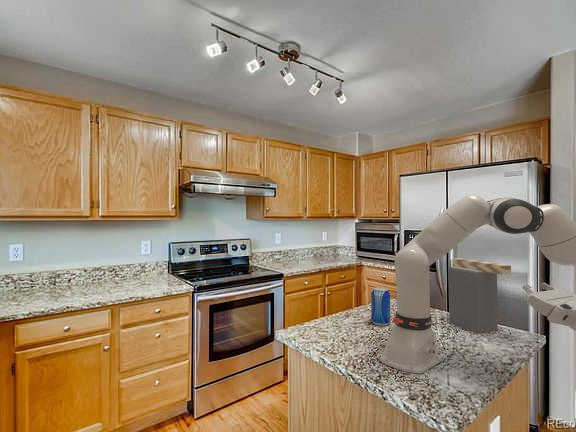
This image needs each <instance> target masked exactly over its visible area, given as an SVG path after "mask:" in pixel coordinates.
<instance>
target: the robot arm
mask: <svg viewBox="0 0 576 432" xmlns="http://www.w3.org/2000/svg"><path fill="white" fill-rule="evenodd" d="M486 225H489V226H490V227H493V228H494V229H496V230H497V231H500V232H503V233H505V234H506V233H507V234H511V235H519V234H520V235H521V234H525V233H529V235H530V236H531V237H532V238H533V240H534V241H535V243H536V245H537V247H538V249H539V250H540V251H541V253H542V254H543V256H544V257H545V258H546V259H547V260H548V261H550V262H552V263H555V264H557V265H560V266H568V267H569V266H573V267H574V266H576V222H575V221H574V220H573V219H572V217H571V216H570V215H569V214H568V213H567V212H566V211H565V210H564V209H563V208H562V207H561V206H559V205H557V204H553V203H546V204H541V205H538V206H536V205H533V204H532V203H530V202H529V201H526V200H523V199H520V198H515V197H500V198H495V199H491V200H485V198H483V197H481V196H479V195H476V194H468V195H465V196H464V197H462V198H460V199H459V200H458V201H456V202H454V203H453V204H452V205H450V206H448V207H447V208H446V209H445V210H444V211H443V212H442V213H441V214H440V215H438V216H437V217H436V218H435V219H434V220H432V221H431V222H430V223H429V224H427V226H426V227H425V228H424V229H423V230H421V231H420V232H419V233H418V234H417V235H416V236H414V237H413V238H412V239H411V240H410V241H409V242H407V243H406V245H404V246H403V247H402V248H401V249H399V250H398V251H397V253H396V254H395V257H394V273H395V274H394V275H395V285H396V312H395V314H394V317H393V318H392V323H393V327H392V330H391V332H390V335H389V337H388V340H387V344H386V346H385V348H384V350H383V352H382V353H381V355H380V357H379V361H380V362H381V363H382V364H384V365H386V366H388V367H391V368H394V369H396V370H399V371H403V372H406V373H407V372H408V373H410V374H411V373H412V374H424V373H425V372H426V371H428V370H429V369H432V367H434V366H436V365H437V364H439V363H441V362H442V361H443V357H442V356H441V355H440V354H438V345H437V334H436V333H435V331H434V330H433V328H432V322H433V318H432V315H431V286H430V285H431V284H430V282H431V281H430V267H431V266H432V265H433V264H435V262H437V261H438V260H439V259H441V258H442V257H444V256H445V255H446V254H448V253H449V252H451V251H452V250H453V249H455V248H456V247H457V246H458V245H459V244H461V243H462V242H463V241H464V240H466V239H467V238H468V237H469V236H470V235H472V233H474V232H475V231H476V230H477V229H479V228H481V227H483V226H486ZM539 287H540V288H541V289H543V290H544V291H535V290H533V289H532V286H530V285H528V284H524V285H523V286H522V287H521V288H522V290H524V291H525V292H526V294H527V295H528V296H527V297H526V299H525V301H526V303H527V304H528V305H530V307H532V308H533V309H535V311H537V312H538V313H539V314H540V315H543V316H545V317H546V319H547V321H548V322H550V323H551V324H558V325H562V326H566V327H568V328H569V329H571V330H572V331H575V332H576V294H575V293H574V292H573V291H571V290H569V289H567V288H556V287H554V286H552V285H549V284H547V283H546V282H541V283H539Z"/></svg>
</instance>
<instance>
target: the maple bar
mask: <svg viewBox="0 0 576 432" xmlns="http://www.w3.org/2000/svg"><path fill="white" fill-rule="evenodd" d="M455 266H456V267H462V268H468V269H473V270H479V271H485V272H491V273H497V275H503V276H506V275H512V265H511V264H503V263H497V262H489V261H482V260H476V259H475V260H474V259H467V258H460V257H457V258H452V267H455Z"/></svg>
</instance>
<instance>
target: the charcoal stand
mask: <svg viewBox="0 0 576 432" xmlns="http://www.w3.org/2000/svg"><path fill="white" fill-rule="evenodd" d="M448 289H449V291H448V293H449V295H448V301H449V302H448V304H449V307H448V308H449V309H448V311H449V313H448V315H449V317H448V318H449V324H451V325H453V326H456V327H459V328H461V329H464V330H466V331H469V332H471V333H474V334H477V335H480V334H484V333H489V332H495V331H498V326H499V325H498V324H499V323H498V322H499V320H498V319H499V318H498V274H497V273H491V272H485V271H479V270H473V269H468V268H462V267H456V266H448Z"/></svg>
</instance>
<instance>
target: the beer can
mask: <svg viewBox="0 0 576 432" xmlns="http://www.w3.org/2000/svg"><path fill="white" fill-rule="evenodd" d="M370 295H371V296H370V299H371V300H370V301H371V302H370V304H371V308H370V309H371V311H370V312H371V314H370V315H371V322H372V324H374V325H375V326H378V327H386V326H387V327H388V326H389V324H390V323H391V294H390V291H389V289H388V288H386V287H381V286H380V287H379V286H378V287H373V288H372V291H371V294H370Z"/></svg>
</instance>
